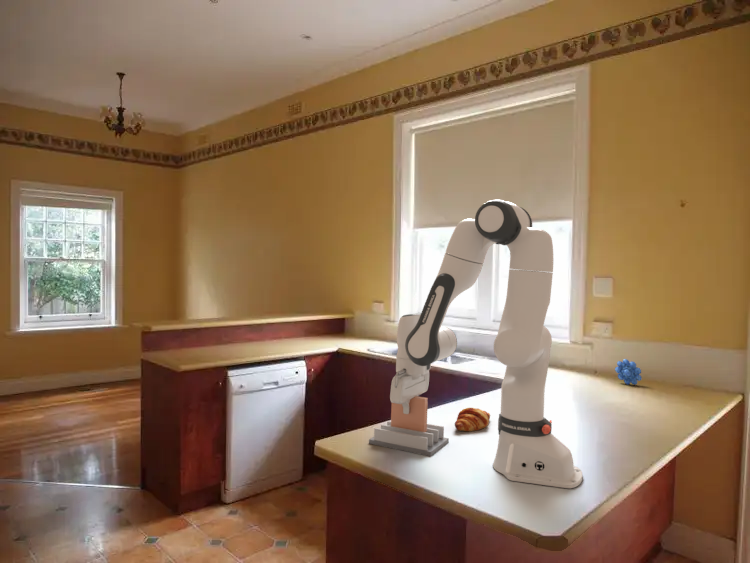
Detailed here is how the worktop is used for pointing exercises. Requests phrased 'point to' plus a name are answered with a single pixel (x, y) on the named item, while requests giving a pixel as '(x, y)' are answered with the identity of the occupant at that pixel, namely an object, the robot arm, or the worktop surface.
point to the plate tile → (411, 415)
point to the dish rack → (410, 439)
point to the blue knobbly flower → (628, 372)
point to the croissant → (472, 419)
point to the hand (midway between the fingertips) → (409, 412)
